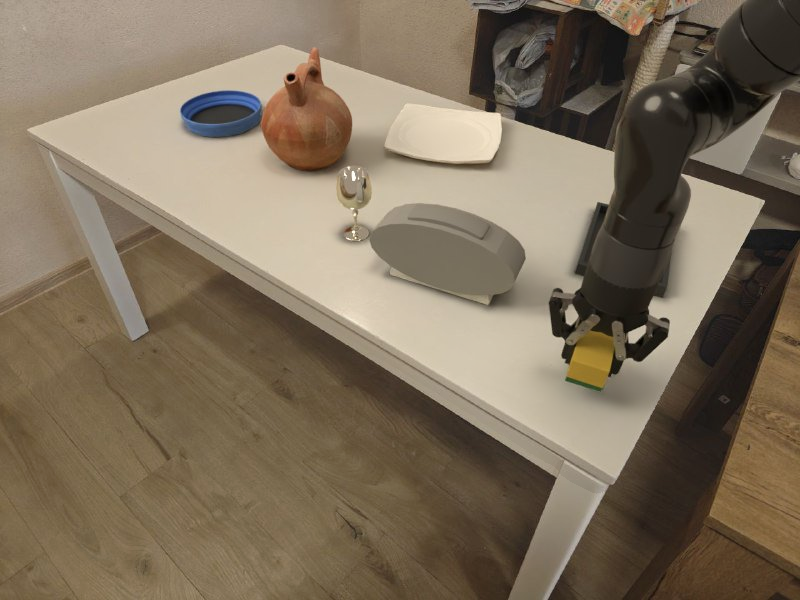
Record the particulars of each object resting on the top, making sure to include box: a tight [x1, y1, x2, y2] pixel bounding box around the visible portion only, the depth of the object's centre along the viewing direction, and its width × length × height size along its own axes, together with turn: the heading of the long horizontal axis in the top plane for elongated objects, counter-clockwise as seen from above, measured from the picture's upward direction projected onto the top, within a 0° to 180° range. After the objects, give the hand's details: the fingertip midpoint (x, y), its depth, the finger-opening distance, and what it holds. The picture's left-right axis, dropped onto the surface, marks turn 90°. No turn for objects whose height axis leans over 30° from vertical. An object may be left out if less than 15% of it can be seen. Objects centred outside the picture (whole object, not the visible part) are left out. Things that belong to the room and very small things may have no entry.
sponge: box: [564, 331, 615, 393], centre depth 69 cm, size 7×4×4 cm, turn 156°
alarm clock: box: [368, 202, 526, 306], centre depth 83 cm, size 23×6×13 cm, turn 65°
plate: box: [383, 102, 503, 165], centre depth 120 cm, size 24×24×3 cm
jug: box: [260, 46, 353, 172], centre depth 108 cm, size 18×18×20 cm
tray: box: [574, 201, 673, 298], centre depth 93 cm, size 20×14×2 cm
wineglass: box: [336, 165, 373, 242], centre depth 92 cm, size 6×6×12 cm
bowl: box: [179, 89, 263, 138], centre depth 126 cm, size 18×18×4 cm
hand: (588, 365), depth 70 cm, fingers closed on sponge, 4 cm apart
